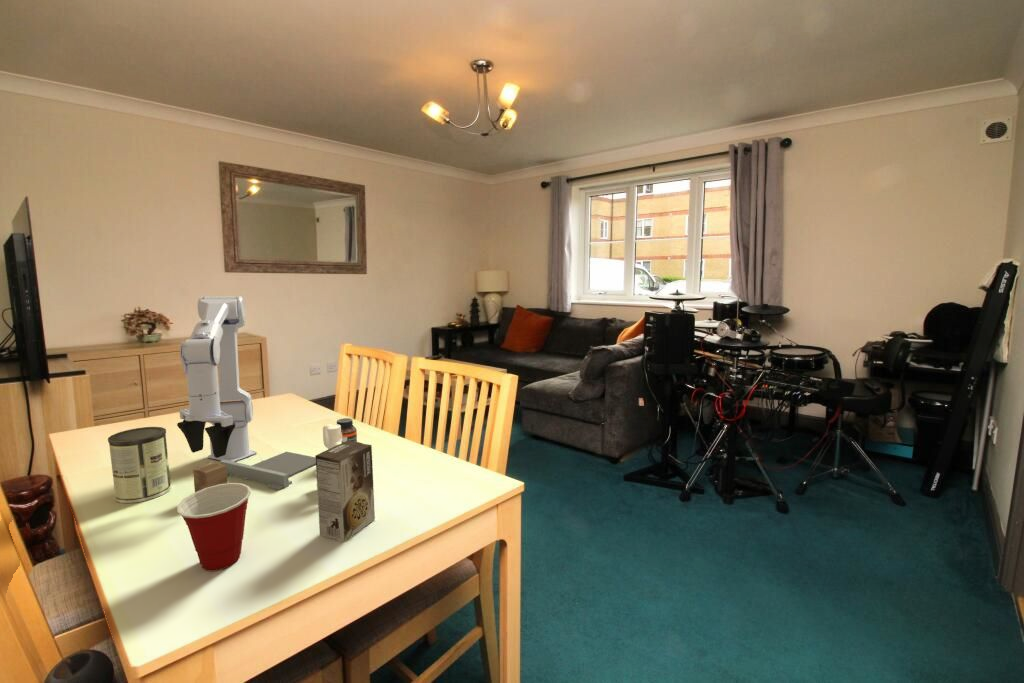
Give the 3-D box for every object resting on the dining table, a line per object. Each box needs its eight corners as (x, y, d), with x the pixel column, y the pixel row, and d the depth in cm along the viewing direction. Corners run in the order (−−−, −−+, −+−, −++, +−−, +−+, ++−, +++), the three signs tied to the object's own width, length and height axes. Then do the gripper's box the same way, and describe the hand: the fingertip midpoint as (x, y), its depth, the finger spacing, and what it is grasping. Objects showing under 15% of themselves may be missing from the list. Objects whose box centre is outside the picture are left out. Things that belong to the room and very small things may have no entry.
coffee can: (131, 485, 113) (126, 427, 111) (180, 482, 115) (175, 425, 113) (103, 505, 103) (95, 442, 101) (156, 502, 105) (150, 439, 103)
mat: (248, 468, 123) (248, 466, 123) (286, 453, 134) (286, 451, 134) (288, 477, 118) (288, 475, 118) (324, 461, 129) (324, 459, 129)
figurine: (329, 499, 106) (326, 434, 105) (313, 485, 113) (310, 424, 111) (360, 490, 111) (358, 427, 109) (343, 477, 118) (341, 418, 116)
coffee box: (350, 514, 100) (347, 439, 98) (375, 520, 98) (373, 443, 96) (317, 535, 92) (313, 454, 90) (344, 542, 89) (340, 459, 87)
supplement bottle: (350, 465, 126) (348, 424, 124) (329, 464, 127) (327, 422, 125) (361, 457, 131) (360, 417, 130) (342, 455, 133) (340, 416, 131)
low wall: (215, 474, 119) (214, 463, 119) (230, 469, 123) (229, 457, 123) (279, 490, 111) (278, 478, 110) (293, 483, 114) (292, 471, 114)
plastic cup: (166, 572, 80) (160, 504, 78) (225, 539, 90) (221, 479, 88) (213, 587, 76) (207, 516, 74) (269, 551, 86) (265, 488, 84)
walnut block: (195, 499, 106) (192, 469, 105) (215, 491, 110) (212, 462, 109) (209, 503, 104) (206, 472, 103) (228, 495, 108) (226, 465, 108)
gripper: (163, 394, 103) (168, 454, 105) (208, 401, 98) (213, 465, 99) (195, 387, 110) (200, 444, 112) (239, 393, 104) (244, 453, 106)
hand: (208, 453), depth 106 cm, fingers open, 7 cm apart
